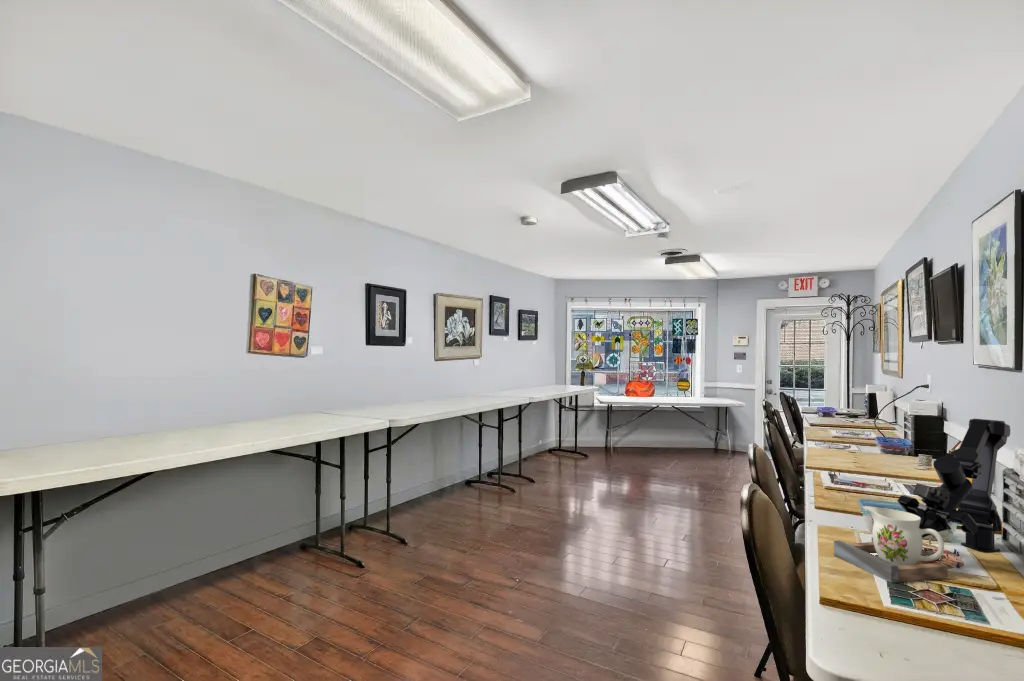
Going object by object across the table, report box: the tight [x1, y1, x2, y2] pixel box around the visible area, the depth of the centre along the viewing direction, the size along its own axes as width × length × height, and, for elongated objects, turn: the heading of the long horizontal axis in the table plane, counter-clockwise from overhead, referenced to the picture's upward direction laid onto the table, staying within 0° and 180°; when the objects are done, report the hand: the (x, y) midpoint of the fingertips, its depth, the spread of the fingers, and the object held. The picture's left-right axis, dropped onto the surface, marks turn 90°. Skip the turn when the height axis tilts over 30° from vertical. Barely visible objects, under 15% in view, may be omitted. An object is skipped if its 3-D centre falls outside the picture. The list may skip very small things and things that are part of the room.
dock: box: [833, 540, 949, 583], centre depth 142 cm, size 17×18×4 cm
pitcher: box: [861, 505, 945, 566], centre depth 144 cm, size 11×18×14 cm, turn 44°
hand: (917, 536), depth 144 cm, fingers closed, pressing on pitcher
